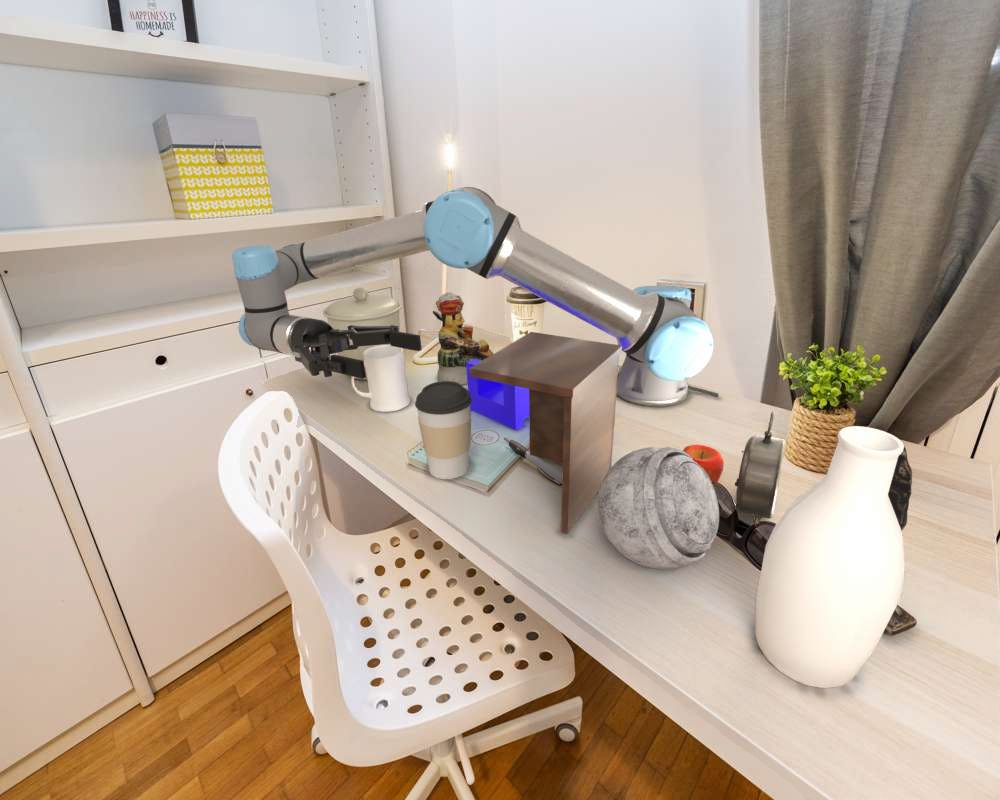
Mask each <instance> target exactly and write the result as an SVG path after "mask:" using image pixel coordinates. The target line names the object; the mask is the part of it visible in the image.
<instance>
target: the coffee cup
mask: <svg viewBox="0 0 1000 800" xmlns="http://www.w3.org/2000/svg"><path fill="white" fill-rule="evenodd" d="M415 399H416V400H415V402H414V406H415V408H416V409H417V421H418V425H419V431H420V435H421V439H422V445H423V450H424V453H425V456H426V459H427V460H426V461H427V466H428V470H429V471H428V472H429V473H430V474H431V476H433V477H434V478H437V479H441V480H453V479H456V478H460V477H463V476H464V475H465V474H466V473H468V471H469V469H470V449H471V435H472V411H471V410H470V407H471V402H472V398H471V396H470V392H469V391H468V388H466V387H464V386H463V385H461V384H459V383H457V382H452V381H435V382H432V383H429V384H427V385H425V386H424V387H423V388H422V390H421V392H419V393H418V394H417V396H416V398H415Z"/></svg>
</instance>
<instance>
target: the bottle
mask: <svg viewBox="0 0 1000 800" xmlns="http://www.w3.org/2000/svg"><path fill="white" fill-rule="evenodd" d="M837 439H838V442H837V444H836V448H835V450H834V453H833V455H832V458H831V461H830V464H829V465H828V470H827V472H826V475H825V476H824V477H823V478H822V479H820V480H819V481H818V482H816V483H814V485H812V486H811V487H809V488H808V489H806V490H805V491H804V492H803V493H801V494H800V495H799V496H798V497H796V498H795V500H794V501H793V502H791V504H790V505H789V506H788V508H787V509H786V510H785V512H784V513H783V514H782V516H781V517H780V518H779V519H778V520H777V522H776V523H775V525H774V527H773V529H772V532H771V533H770V535H769V537H768V540H767V542H766V543H765V548H764V553H763V558H762V563H761V568H760V569H761V570H760V575H759V582H758V587H757V593H756V598H755V599H756V600H755V601H756V602H755V631H754V632H755V633H754V634H755V637H756V638H755V639H756V641H757V645H758V647H759V648H760V650H761V651H762V653H763V655H764V657H765V658H766V659H767V661H768V662H769V663H770V664H772V666H773V667H774V668H775V669H777V670H778V671H779V672H780V673H781V674H783V675H785V676H786V677H788V678H789V679H791V680H792V681H796V682H797V683H800V684H802V685H805V686H808V687H813V688H820V689H830V688H839V687H842V686H845V685H846V684H848V683H850V682H851V681H852V680H853V679H854V677H856V675H857V674H858V673H859V671H860V669H862V667H863V665H864V664H865V663H866V661H867V660H868V659H869V658H870V656H871V655H872V654H873V652H874V651H875V649H876V647H877V645H878V644H879V642H880V640H881V638H882V636H883V634H884V632H885V631H884V630H885V628H886V626H887V624H888V622H889V620H890V618H891V616H892V614H893V612H894V610H895V608H896V606H897V605H899V602H900V600H901V598H902V592H903V587H904V580H905V572H906V566H905V565H906V564H905V551H904V538H903V533H902V532H903V530H902V531H901V528H900V525H899V523H898V520H897V518H896V515H895V512H894V510H893V507H892V504H891V502H890V499H889V497H888V492H889V489H890V485H891V481H892V478H893V474H894V470H895V467H896V463H897V459H898V456H899V455H900V454H901V453H902V452H903V449H904V447H905V445H904V443H903V441H901V440H900V439H899V438H898V437H897V436H895V435H893V434H892V433H889V432H887V431H884V430H881V429H877V428H874V427H868V426H860V425H852V426H846V427H842V428H840V430H839V432H838V434H837Z"/></svg>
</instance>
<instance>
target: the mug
mask: <svg viewBox="0 0 1000 800" xmlns="http://www.w3.org/2000/svg"><path fill="white" fill-rule="evenodd" d="M363 355H364V367H365V368H366V374H367V380H366V381H367V387H368V392H364V391H363V392H362V391H361V390H359V389H358V388H357V387H356V385H355V377H353V376H352V377H350V381H351V387H352V389H353V390H354V392H355V393H356V394H357V395H359V396H360V397H364V398H369V400H370V401H369V406H370V408H371V409H372V410H373V411H375V412H381V413H389V412H397V411H400V410H402V409H405V408H406V407H408V406H409V404H410V403H411V398H410V394H409V390H408V389H409V388H408V379H407V372H406V371H407V370H406V365H405V354H404V348H399V347H394V346H391V345H381V346H375V347H372V348H369V349H367V350H365V351H364V353H363Z"/></svg>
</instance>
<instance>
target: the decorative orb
mask: <svg viewBox="0 0 1000 800" xmlns="http://www.w3.org/2000/svg"><path fill="white" fill-rule="evenodd" d="M597 496H598V497H597V514H598V519H599V521H600V524H601V525H600V526H601V527H602V529H603V532H604V534H605V536H606V538H607V539H608V541H609V542H610V543H611V544H612V545H613V547H614V548H615V549H616V550H617V552H619V553H620V554H621V555H622V556H624V557H625V558H627V559H629V560H630V561H632V562H633V563H635V564H638V565H641V566H644V567H647V568H650V569H651V568H652V569H657V570H658V569H659V570H670V569H677V568H680V567H683V566H686V565H687V566H688V565H692V564H695V563H696V562H698V561H699V560H701V559H702V558H704V557H705V556H706V555H707V552H708V551H709V550H710V549H711V546H712V544H713V541H714V539H715V538H716V535H717V533H718V530H719V525H720V508H719V501H718V496H717V493H716V488H715V489H714V486H713V484H712V482H711V480H710V478H709V476H708V474H707V473H706V472H705V470H704V469H703V468H702V467H701V466H700V465H699V464H697V462H695V461H693V458H692V457H691V456H690V455H689V454H687V453H686V452H684V451H683V450H682V449H679V448H675V447H671V446H666V447H665V446H664V447H662V446H661V447H660V446H650V447H644V448H639V449H636V450H634V451H631V452H629V453H627V454H626V455H624V456H622V457H621V458H619V459H618V460H617V461H616V462H615V463H614V464H612V465H611V468H610V469H609V471H608V472H607V474H606V475H605V477H604V479H603V481H602V484H601V487H600V490H599V491H598V495H597Z"/></svg>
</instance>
